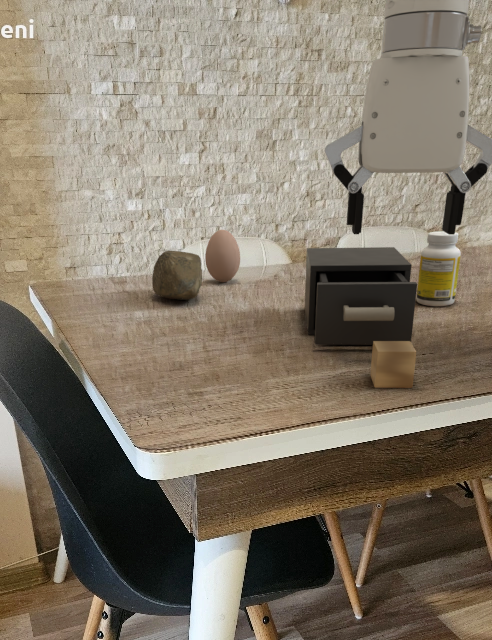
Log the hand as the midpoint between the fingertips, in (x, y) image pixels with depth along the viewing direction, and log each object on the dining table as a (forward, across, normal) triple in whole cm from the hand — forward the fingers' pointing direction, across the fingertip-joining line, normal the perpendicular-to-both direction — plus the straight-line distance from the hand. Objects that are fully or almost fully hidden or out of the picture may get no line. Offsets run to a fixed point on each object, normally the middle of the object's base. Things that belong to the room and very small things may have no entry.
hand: (401, 232), depth 71 cm
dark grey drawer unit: (+16, +2, -26) cm, 31 cm away
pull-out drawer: (+15, +2, -16) cm, 22 cm away
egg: (+16, +24, -57) cm, 64 cm away
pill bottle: (+16, -13, -39) cm, 44 cm away
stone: (+16, +31, -43) cm, 56 cm away
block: (+16, 0, +2) cm, 16 cm away
